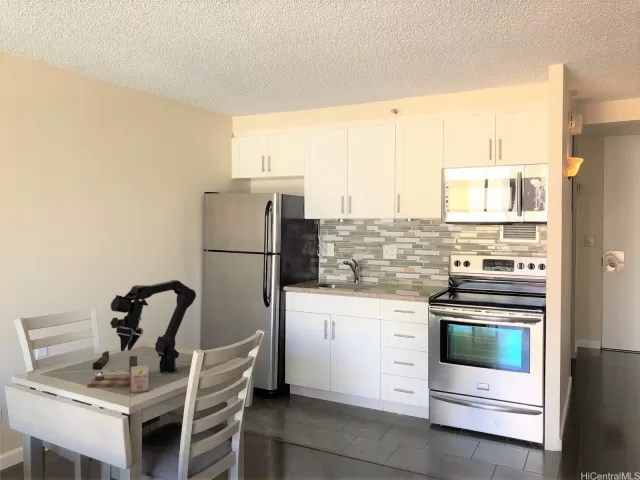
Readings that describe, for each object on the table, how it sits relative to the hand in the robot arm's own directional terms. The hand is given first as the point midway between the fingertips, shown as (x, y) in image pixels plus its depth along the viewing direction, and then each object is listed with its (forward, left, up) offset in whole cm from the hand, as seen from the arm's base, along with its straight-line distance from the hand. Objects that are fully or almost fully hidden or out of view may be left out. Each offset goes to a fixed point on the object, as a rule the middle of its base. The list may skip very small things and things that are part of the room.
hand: (125, 350), depth 228 cm
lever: (+4, +1, -10) cm, 11 cm away
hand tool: (+20, -28, -14) cm, 37 cm away
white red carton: (-9, +12, -13) cm, 20 cm away
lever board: (+3, -2, -13) cm, 14 cm away
